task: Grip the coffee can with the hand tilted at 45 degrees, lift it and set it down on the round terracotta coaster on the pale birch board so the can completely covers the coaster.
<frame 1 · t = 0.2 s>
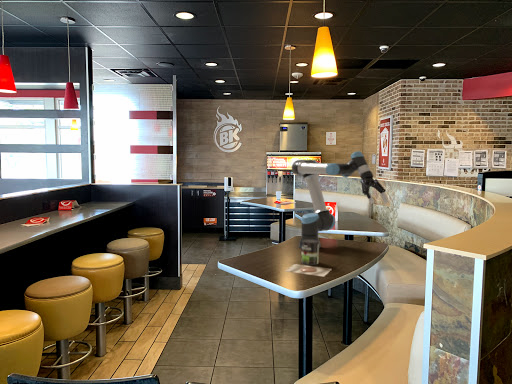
hand: (379, 202, 241), 36 cm above the table, tool tilted 35°, fingers open, 13 cm apart
terracotta coaster: (308, 269, 215), resting on birch board
birch board: (308, 271, 216), on the table
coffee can: (309, 264, 231), on the table
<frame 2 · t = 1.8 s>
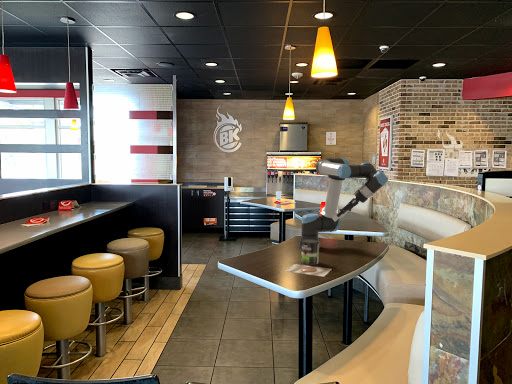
hand: (336, 218, 227), 28 cm above the table, tool tilted 45°, fingers open, 13 cm apart
nothing on the table moved.
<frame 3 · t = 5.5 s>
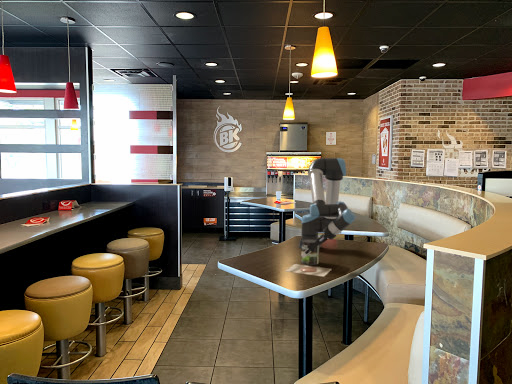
hand: (305, 254, 232), 6 cm above the table, tool tilted 45°, fingers closed on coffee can, 10 cm apart
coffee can: (309, 264, 231), on the table, touching gripper
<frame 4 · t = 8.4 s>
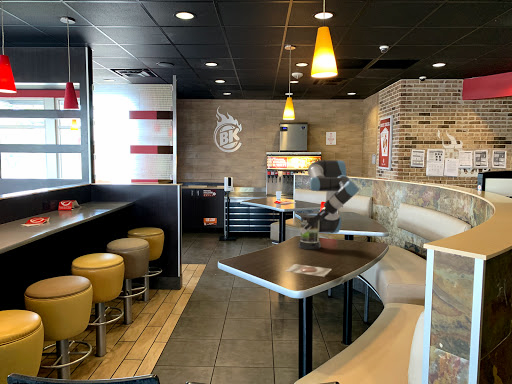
hand: (304, 231, 217), 22 cm above the table, tool tilted 45°, fingers closed on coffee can, 10 cm apart
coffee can: (309, 241, 217), point 16 cm above the table, touching gripper
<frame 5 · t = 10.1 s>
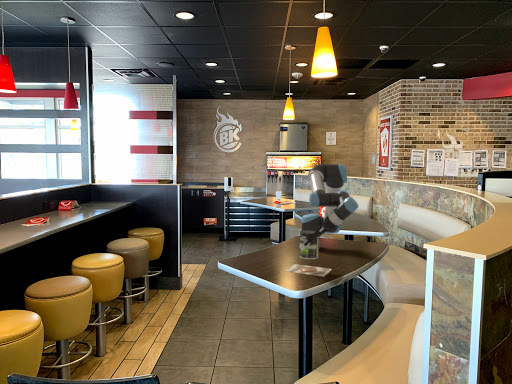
hand: (303, 246, 215), 14 cm above the table, tool tilted 45°, fingers closed on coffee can, 10 cm apart
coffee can: (309, 257, 214), point 8 cm above the table, touching gripper
when the fingers open (8 cm above the table, at t = 11.6 s): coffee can drops 1 cm, resting on terracotta coaster.
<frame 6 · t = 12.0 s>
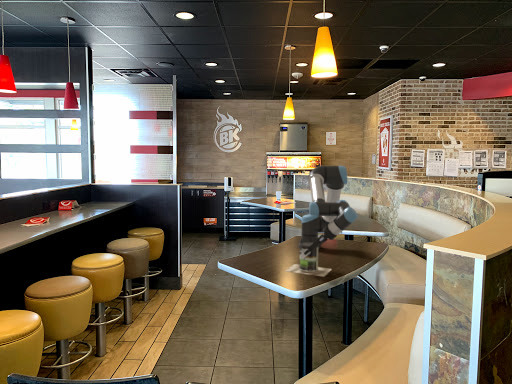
hand: (304, 254, 216), 9 cm above the table, tool tilted 45°, fingers open, 13 cm apart
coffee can: (308, 269, 215), point 1 cm above the table, touching terracotta coaster
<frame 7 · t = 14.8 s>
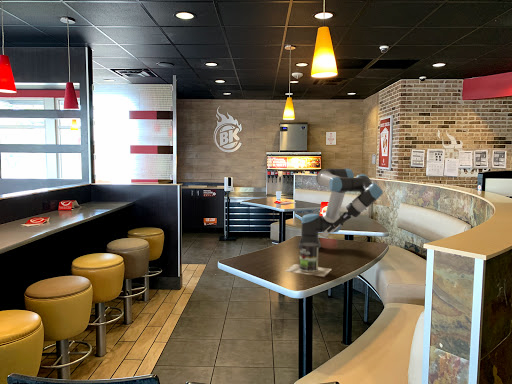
hand: (327, 233, 211), 22 cm above the table, tool tilted 45°, fingers open, 13 cm apart
nothing on the table moved.
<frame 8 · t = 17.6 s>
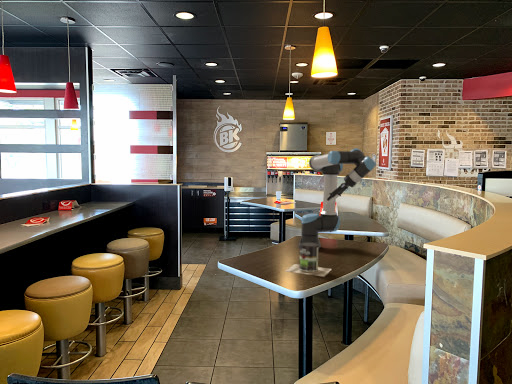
hand: (326, 202, 237), 36 cm above the table, tool tilted 45°, fingers open, 13 cm apart
nothing on the table moved.
at the end: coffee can 0.2 cm from the terracotta coaster (horizontally); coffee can tilted 0°; the gripper is holding nothing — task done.
